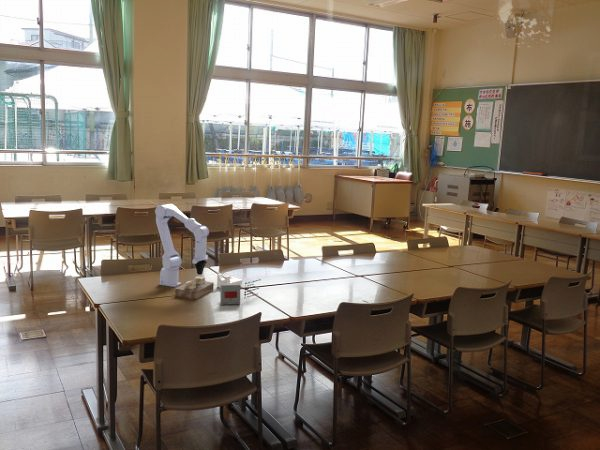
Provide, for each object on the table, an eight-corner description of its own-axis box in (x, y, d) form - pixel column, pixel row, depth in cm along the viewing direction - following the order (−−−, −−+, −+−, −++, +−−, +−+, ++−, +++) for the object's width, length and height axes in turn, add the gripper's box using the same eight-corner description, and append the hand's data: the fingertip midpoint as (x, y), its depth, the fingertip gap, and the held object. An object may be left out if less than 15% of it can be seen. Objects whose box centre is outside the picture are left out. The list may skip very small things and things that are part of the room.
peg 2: (194, 284, 296) (194, 278, 296) (197, 283, 300) (197, 276, 300) (201, 285, 295) (201, 279, 295) (204, 284, 299) (204, 277, 299)
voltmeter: (229, 308, 272) (230, 288, 271) (212, 303, 279) (213, 284, 277) (264, 297, 294) (265, 279, 292) (247, 292, 300) (248, 275, 299)
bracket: (226, 290, 303) (227, 276, 302) (216, 287, 307) (217, 274, 306) (241, 285, 314) (242, 272, 313) (232, 283, 318) (232, 270, 317)
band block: (175, 296, 286) (175, 288, 285) (193, 286, 305) (193, 279, 304) (196, 299, 282) (196, 291, 282) (213, 289, 302) (213, 282, 301)
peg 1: (185, 289, 287) (185, 282, 286) (188, 287, 291) (189, 280, 290) (192, 290, 286) (192, 283, 285) (195, 288, 290) (196, 281, 289)
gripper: (201, 252, 287) (200, 278, 289) (213, 247, 301) (212, 272, 303) (189, 251, 289) (188, 276, 291) (201, 246, 302) (200, 270, 305)
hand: (199, 274), depth 297 cm, fingers closed
